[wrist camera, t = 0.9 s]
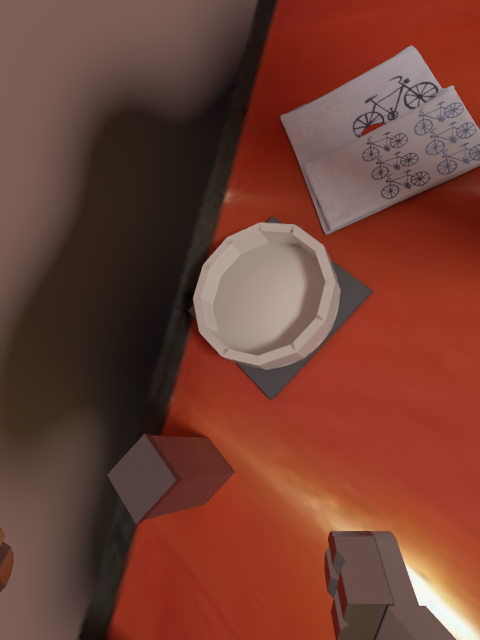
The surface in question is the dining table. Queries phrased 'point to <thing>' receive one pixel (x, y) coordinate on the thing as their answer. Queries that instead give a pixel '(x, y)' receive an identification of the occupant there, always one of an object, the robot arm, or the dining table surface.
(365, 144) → the printed paper sheets
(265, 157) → the dining table surface
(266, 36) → the dining table surface
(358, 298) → the mat
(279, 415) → the dining table surface
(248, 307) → the bowl
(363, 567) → the robot arm
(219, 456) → the tin
